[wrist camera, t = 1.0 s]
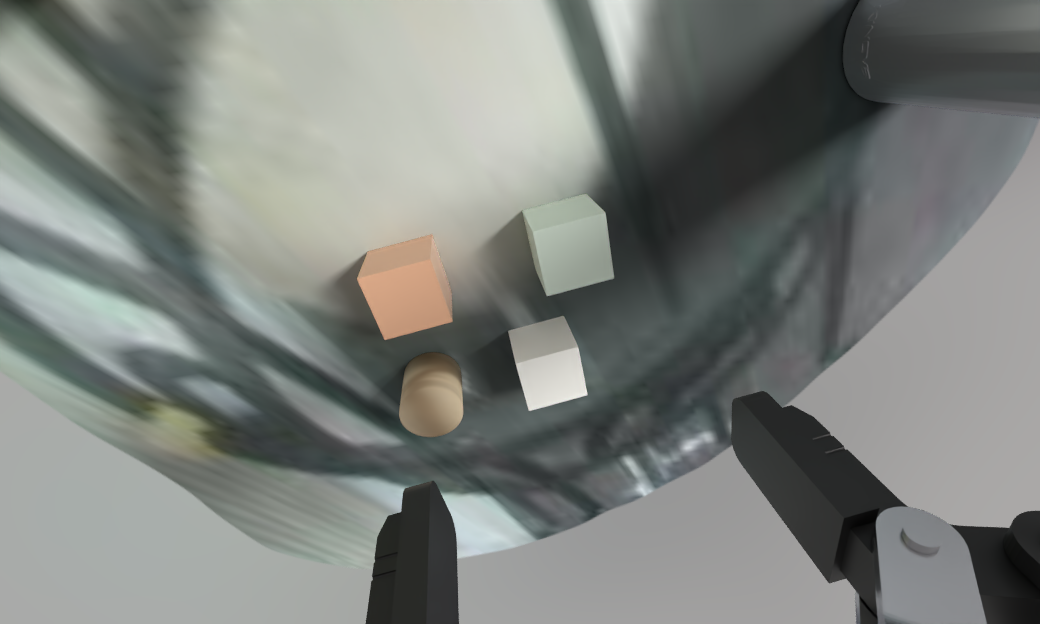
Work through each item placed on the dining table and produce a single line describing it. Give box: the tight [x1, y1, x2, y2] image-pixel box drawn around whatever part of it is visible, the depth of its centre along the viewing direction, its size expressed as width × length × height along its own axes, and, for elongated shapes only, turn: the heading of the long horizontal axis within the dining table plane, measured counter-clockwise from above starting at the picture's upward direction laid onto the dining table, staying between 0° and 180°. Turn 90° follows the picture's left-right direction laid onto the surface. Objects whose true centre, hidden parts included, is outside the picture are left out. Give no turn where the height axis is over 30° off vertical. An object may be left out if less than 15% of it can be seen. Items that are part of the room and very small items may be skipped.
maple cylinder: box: [399, 352, 463, 437], centre depth 38 cm, size 5×5×5 cm
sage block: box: [522, 193, 614, 296], centre depth 34 cm, size 5×5×5 cm
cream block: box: [508, 316, 587, 411], centre depth 39 cm, size 5×5×5 cm
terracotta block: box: [357, 235, 453, 340], centre depth 34 cm, size 5×5×5 cm
